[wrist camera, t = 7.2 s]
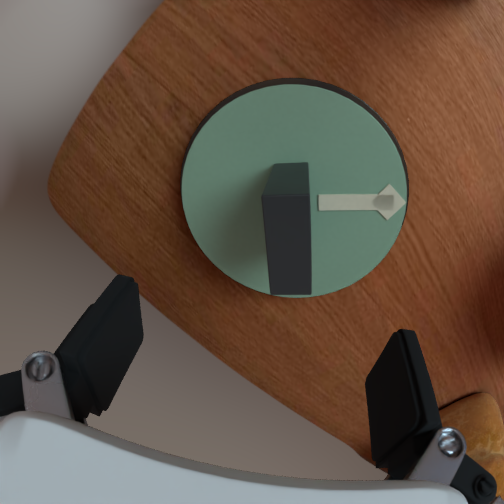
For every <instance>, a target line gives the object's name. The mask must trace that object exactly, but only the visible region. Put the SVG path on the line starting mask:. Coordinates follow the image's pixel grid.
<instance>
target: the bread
mask: <svg viewBox="0 0 504 504" xmlns="http://www.w3.org/2000/svg"><path fill="white" fill-rule="evenodd" d="M439 414H440V418H441V422H442V427H447V426H449V427H454V428H456V429H458V430H459V431H460V432H461V433H462V434H463V436H464V437H465V440H466V445H467V449H466V454H467V455H468V456H469V457H470V458H472V459H473V460H474V461H475V462H477V463H478V464H479V465H480V466H482V467H483V468H484V469H485V470H487V471H488V472H489V473H490V474H491V475H492V476H493V477H494V478H495V480H496V483H497V493H496V496H499V495H500V496H501V498H502V499H503V501H504V425H503V421H502V417H501V413H500V410H499V407H498V404H497V403H496V401H495V399H494V398H493V397H492V396H491V395H490V394H488V393H477V394H474V395H471V396H469V397H466V398H464V399H461V400H459V401H457V402H455V403H453V404H451V405H449V406H448V407H446V408H444V409H442V410H440V411H439Z"/></svg>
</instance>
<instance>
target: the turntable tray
mask: <svg viewBox="0 0 504 504" xmlns="http://www.w3.org/2000/svg"><path fill="white" fill-rule="evenodd" d="M182 202H183V209H184V213H185V216H186V220H187V223H188V225H189V228H190V230H191V233H192V235H193V237H194V238H195V240H196V242H197V244H198V245H199V247H200V248H201V249H202V251H203V252H204V254H205V255H206V256H207V257H208V258H209V259H210V260H211V261H212V263H213V264H214V265H215V266H217V267H218V268H219V269H220V270H221V271H222V272H224V273H225V274H226V275H228V276H229V277H231V278H232V279H234V280H235V281H237V282H239V283H241V284H243V285H245V286H246V287H249V288H251V289H254V290H256V291H259V292H263V293H266V294H270V295H275V296H281V297H293V298H302V297H313V296H319V295H324V294H328V293H331V292H335V291H338V290H340V289H342V288H345V287H347V286H349V285H351V284H353V283H354V282H356V281H358V280H360V279H361V278H362V277H364V276H365V275H366V274H368V273H369V272H370V271H371V270H373V269H374V268H375V267H376V266H377V265H378V264H379V263H380V262H381V260H382V259H383V258H384V257H385V256H386V254H387V253H388V252H389V250H390V249H391V247H392V245H393V244H394V242H395V240H396V238H397V236H398V234H399V231H400V229H401V226H402V223H403V219H404V216H405V209H406V203H407V185H406V178H405V172H404V168H403V165H402V161H401V158H400V156H399V153H398V151H397V149H396V147H395V144H394V143H393V141H392V140H391V138H390V136H389V135H388V133H387V132H386V130H385V129H384V128H383V127H382V126H381V125H380V123H379V122H378V121H377V120H376V119H375V118H374V117H373V116H372V115H371V114H370V113H368V112H367V111H366V110H365V109H364V108H362V107H361V106H359V105H358V104H356V103H355V102H353V101H352V100H350V99H348V98H346V97H344V96H342V95H340V94H338V93H335V92H333V91H329V90H326V89H323V88H319V87H314V86H308V85H299V84H284V85H276V86H269V87H265V88H261V89H258V90H254V91H251V92H249V93H247V94H244V95H242V96H240V97H238V98H236V99H234V100H233V101H231V102H230V103H228V104H226V105H225V106H223V107H222V108H221V109H220V110H219V111H218V112H216V113H215V114H214V115H213V116H212V117H211V118H210V119H209V120H208V121H207V122H206V124H205V125H204V126H203V127H202V128H201V130H200V131H199V133H198V135H197V136H196V138H195V139H194V141H193V143H192V145H191V147H190V150H189V152H188V154H187V158H186V161H185V165H184V169H183V176H182Z"/></svg>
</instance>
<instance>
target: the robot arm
mask: <svg viewBox="0 0 504 504" xmlns="http://www.w3.org/2000/svg"><path fill="white" fill-rule="evenodd" d="M142 341H143V326H142V318H141V310H140V301H139V289H138V284H137V283H136V282H134V279H133V278H132V277H128V276H124V275H120V274H119V275H117V276H116V277H115V278H114V279H113V281H112V282H111V283H110V284H109V286H108V287H107V288H106V289H105V291H104V292H103V293H102V294H101V296H100V297H99V298H98V299H97V301H96V302H95V303H94V304H92V305H90V306H89V307H88V308H87V310H86V311H85V312H84V314H83V315H82V316H81V318H80V319H79V320H78V321H77V323H76V324H75V325H74V327H73V328H72V329H71V331H70V332H69V333H68V335H67V336H66V338H65V339H64V340H63V342H62V343H61V344H60V346H59V347H58V349H57V350H56V351H55V353H54V354H52V353H51V352H48V351H37V352H34V353H32V354H31V355H29V356H28V357H27V358H26V359H25V360H24V362H23V364H22V369H21V370H19V371H15V372H11V373H8V374H4V375H0V504H504V501H503V499H502V498H501V496H500V495H499V496H496V493H497V483H496V480H495V478H494V477H493V476H492V475H491V474H490V473H489V472H488V471H487V470H485V469H484V468H483V467H482V466H480V465H479V464H478V463H477V462H475V461H474V460H473V459H472V458H470V457H469V456H468V455H467V454H466V449H467V445H466V440H465V437H464V436H463V434H462V433H461V432H460V431H459V430H458V429H456V428H454V427H449V426H447V427H442V422H441V418H440V414H439V410H438V406H437V402H436V398H435V394H434V391H433V387H432V384H431V380H430V377H429V373H428V370H427V367H426V364H425V361H424V357H423V354H422V351H421V348H420V345H419V342H418V339H417V336H416V333H415V331H412V330H405V329H399V330H398V331H397V332H394V333H393V334H392V336H391V338H390V339H389V341H388V343H387V345H386V346H385V348H384V350H383V352H382V353H381V355H380V357H379V358H378V360H377V362H376V363H375V365H374V366H373V368H372V370H371V371H370V373H369V374H368V376H367V378H366V382H365V388H366V397H367V406H368V416H369V426H370V438H371V452H372V459H373V461H376V468H388V475H387V477H386V478H385V479H384V480H382V481H381V480H380V481H379V480H377V481H376V480H375V481H356V480H355V481H353V480H351V481H350V480H347V481H345V480H321V479H320V480H319V479H306V478H294V477H283V476H276V475H268V474H261V473H254V472H248V471H242V470H236V469H231V468H226V467H221V466H216V465H211V464H207V463H202V462H198V461H194V460H190V459H186V458H182V457H179V456H175V455H171V454H168V453H164V452H161V451H158V450H155V449H151V448H148V447H145V446H142V445H139V444H136V443H133V442H130V441H127V440H124V439H122V438H119V437H116V436H113V435H111V434H108V433H105V432H103V431H100V430H98V429H95V428H93V427H90V426H88V424H87V421H86V418H87V417H88V415H89V413H92V414H95V415H97V416H100V415H101V413H102V411H103V410H104V411H106V410H107V409H108V408H109V406H110V404H111V402H112V400H113V397H114V396H115V394H116V392H117V389H118V388H119V386H120V384H121V382H122V380H123V378H124V376H125V374H126V372H127V370H128V368H129V366H130V364H131V362H132V360H133V359H134V357H135V355H136V353H137V351H138V349H139V347H140V345H141V344H142Z"/></svg>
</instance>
